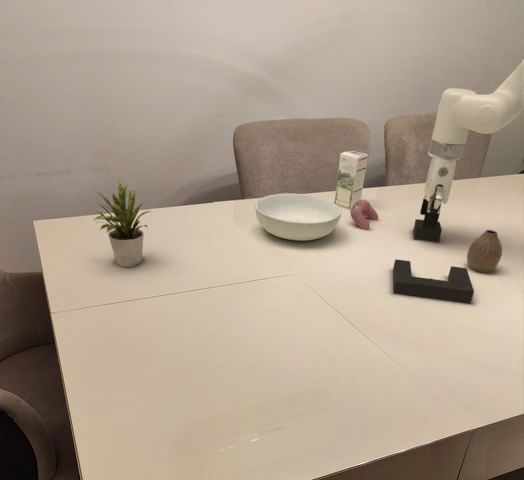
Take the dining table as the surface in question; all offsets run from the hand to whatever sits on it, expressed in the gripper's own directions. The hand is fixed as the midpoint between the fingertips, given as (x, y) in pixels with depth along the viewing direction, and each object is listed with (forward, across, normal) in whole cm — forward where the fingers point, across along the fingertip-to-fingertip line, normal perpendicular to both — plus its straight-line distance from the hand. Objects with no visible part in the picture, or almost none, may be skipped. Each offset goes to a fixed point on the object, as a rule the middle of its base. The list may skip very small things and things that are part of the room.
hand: (427, 221), depth 125 cm
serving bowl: (+5, -8, +32) cm, 33 cm away
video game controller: (+5, +5, +16) cm, 17 cm away
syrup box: (+5, +19, +20) cm, 28 cm away
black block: (+4, 0, 0) cm, 4 cm away
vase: (+4, -16, -11) cm, 20 cm away
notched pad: (+4, -29, 0) cm, 29 cm away
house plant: (+5, -35, +64) cm, 74 cm away
